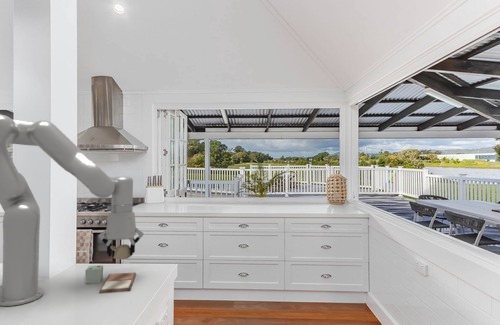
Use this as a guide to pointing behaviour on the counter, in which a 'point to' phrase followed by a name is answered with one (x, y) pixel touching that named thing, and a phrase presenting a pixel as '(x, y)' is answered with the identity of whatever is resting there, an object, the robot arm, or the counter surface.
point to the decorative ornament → (121, 251)
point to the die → (94, 274)
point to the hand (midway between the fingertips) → (121, 254)
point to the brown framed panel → (118, 282)
